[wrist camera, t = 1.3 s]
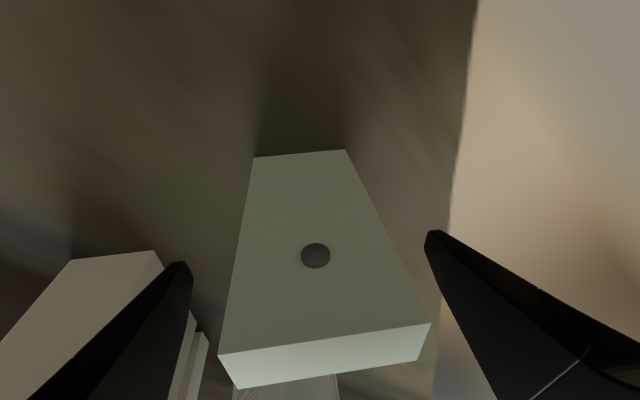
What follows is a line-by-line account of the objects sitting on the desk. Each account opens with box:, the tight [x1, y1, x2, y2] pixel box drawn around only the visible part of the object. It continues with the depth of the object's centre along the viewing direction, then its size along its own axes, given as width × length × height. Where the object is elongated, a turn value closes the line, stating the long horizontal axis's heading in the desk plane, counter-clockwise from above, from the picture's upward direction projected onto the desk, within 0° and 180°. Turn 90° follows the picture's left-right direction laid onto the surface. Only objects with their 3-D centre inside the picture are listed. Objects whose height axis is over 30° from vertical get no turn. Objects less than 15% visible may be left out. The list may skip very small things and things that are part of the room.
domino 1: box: [0, 250, 165, 400], centre depth 13 cm, size 5×2×10 cm, turn 92°
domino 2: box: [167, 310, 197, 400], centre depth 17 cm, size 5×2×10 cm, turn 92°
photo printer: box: [232, 374, 340, 400], centre depth 17 cm, size 10×4×12 cm, turn 152°
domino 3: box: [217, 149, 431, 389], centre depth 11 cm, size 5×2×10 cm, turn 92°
